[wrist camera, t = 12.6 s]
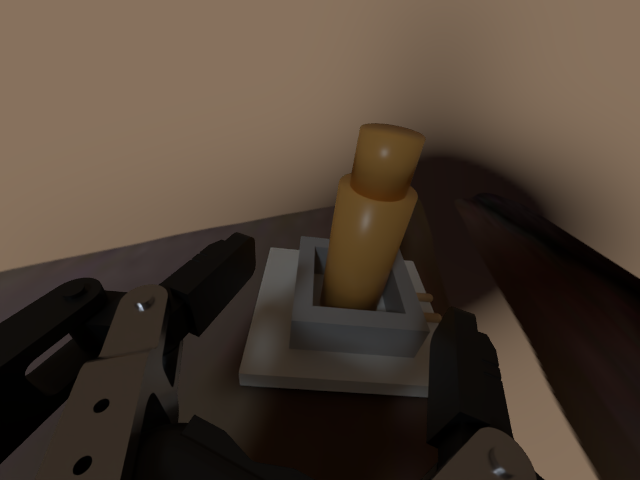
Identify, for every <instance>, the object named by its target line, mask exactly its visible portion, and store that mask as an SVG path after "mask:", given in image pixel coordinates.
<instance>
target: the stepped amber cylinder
mask: <svg viewBox="0 0 640 480" xmlns="http://www.w3.org/2000/svg"><path fill="white" fill-rule="evenodd" d="M424 142H425V137H424V136H423V135H422V134H420V133H418V132H416V131H413V130H411V129H407V128H404V127H399V126H394V125H388V124H377V123H375V124H365V125H362V126H361V127H360V132H359V137H358V142H357V148H356V153H355V158H354V163H353V168H352V173H350V174H347V175H345V176H343V177H342V178H341V179H340V181H339V186H338V192H337V198H336V204H335V210H334V216H333V223H332V229H331V235H330V241H329V247H328V253H327V259H326V266H325V272H324V278H323V284H322V290H321V296H320V306H321V307H332V308H344V309H356V310H368V311H376V310H377V307H378V304H379V301H380V299H381V296H382V293H383V291H384V288H385V285H386V283H387V280H388V277H389V274H390V272H391V269H392V266H393V264H394V261H395V258H396V255H397V253H398V250H399V247H400V245H401V242H402V239H403V236H404V234H405V231H406V228H407V226H408V223H409V220H410V218H411V215H412V212H413V209H414V207H415V204H416V201H417V199H418V195H417V193H416V191H415V190H414V189H413V188H412V187H411V186H410V183H411V180H412V178H413V175H414V171H415V169H416V166H417V163H418V160H419V157H420V154H421V150H422V148H423V145H424Z"/></svg>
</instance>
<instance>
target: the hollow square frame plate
mask: <svg viewBox="0 0 640 480" xmlns="http://www.w3.org/2000/svg"><path fill="white" fill-rule="evenodd" d="M329 241H330V239H324V238H314V237H304V236H301V241H300V250H292V249H282V248H270V252H269V256H268V260H267V264H266V268H265V272H264V276H263V280H262V284H261V287H260V291H259V295H258V299H257V303H256V307H255V311H254V315H253V319H252V322H251V326H250V330H249V334H248V338H247V342H246V346H245V350H244V354H243V358H242V361H241V365H240V369H239V373H238V374H239V381H240V385H243V386H258V387H274V388H289V389H305V390H320V391H336V392H351V393H367V394H382V395H398V396H413V397H428V384H429V355H430V342H431V338H432V335H433V333H434V331H435V329H436V328H437V326H438V325H439V322H440V321H441V320H442V317H441V315H440V314H437V313H434V311H433V309H432V306H431V304H430V302H431V301H432V300H433V296H432V295H431V294H427V293H426V292H425V289H424V287H423V284H422V282H421V280H420V277H419V275H418V272H417V270H416V267H415V265H414V263H413V261H405V260H403V257H402V254H401V251H400V249H399V250H398V253H397V255H396V258H395V261H394V264H393V266H392V269H391V272H390V274H389V277H388V280H387V283H386V285H385V288H384V291H383V293H382V296H381V299H380V301H379V304H378V307H377V310H376V311H368V310H356V309H344V308H332V307H321V306H320V296H321V290H322V284H323V278H324V272H325V266H326V259H327V253H328V247H329Z"/></svg>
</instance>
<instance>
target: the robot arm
mask: <svg viewBox="0 0 640 480" xmlns="http://www.w3.org/2000/svg"><path fill="white" fill-rule="evenodd" d="M255 266H256V260H255V240H254V238H252V237H250V236H247V235H244V234H241V233H238V232H236V233H234V234H233V235H231V236H230V237H229V238H228V239H227V240H225V241H224V240H220V241H217V242H215V243H212V244H210V245H208V246H207V247H206V248H205V249H203V250H202V251H201V252H200V254H197V255H196V256H195V257H193V258H192V260H190V261H188V262H187V263H186V264H185V265H183V266H182V267H181V268H180V269H178V270H177V271H176V272H174V273H173V274H172V275H171V276H169V277H168V278H167V279H166V280H164V281H163V282H162V283H161V284H159V285H153V284H151V285H144V286H140V287H137V288H135V289H133V290H131V291H129V292H117V291H105V290H104V289H103V287H102V285H101V283H100V282H99V281H98V280H96V279H94V278H79V279H75V280H71V281H69V282H66V283H64V284H62V285H60V286H58V287H57V288H55V289H54V290H52V291H50V292H49V293H47V294H46V295H44V296H43V297H41V298H39V299H38V300H36V301H35V302H33V303H31V304H30V305H28V306H27V307H25V308H24V309H22V310H20V311H19V312H17V313H16V314H14V315H12V316H11V317H9V318H8V319H6V320H5V321H3V322H1V323H0V464H1V463H2V462H3V461H4V460H5V459H6V458H7V457H8V456H9V455H10V454H11V453H12V452H13V451H14V450H15V449H16V448H17V447H18V446H20V445H21V444H22V443H23V442H24V441H25V440H26V439H27V438H28V437H29V436H30V435H31V434H32V433H33V432H34V431H35V430H36V429H37V428H38V427H39V426H40V425H41V424H42V423H43V422H44V421H45V420H46V419H47V418H48V417H49V416H50V415H52V414H53V413H54V412H55V411H56V410H57V409H58V408H59V407H60V406H61V405H62V404H63V403H64V402H65V401H66V400H67V399H68V400H67V403H66V405H65V408H64V410H63V413H62V415H61V417H60V420H59V422H58V425H57V427H56V429H55V432H54V434H53V437H52V439H51V442H50V444H49V446H48V449H47V451H46V454H45V456H44V459H43V461H42V463H41V466H40V468H39V471H38V473H37V475H36V478H35V480H315V479H313V478H311V477H309V476H307V475H305V474H303V473H302V472H300V471H298V470H296V469H294V468H288V467H282V466H276V465H270V464H264V463H258V462H254V461H252V460H251V459H250V458H249V457H248V456H247V455H246V454H245V453H244V452H243V451H242V449H241V448H240V447H239V446H238V445H237V444H236V443H235V442H234V441H233V439H232V438H231V437H230V436H229V435H228V434H227V433H226V432H225V431H224V430H222V429H220V428H218V427H216V426H215V425H213V424H211V423H209V422H207V421H205V420H203V419H202V418H200V417H198V416H196V415H194V416H193V417H192V419H191V420H190V422H189V423H178V418H179V404H178V383H179V374H180V366H181V358H182V349H183V338H184V337H185V336H186V335H187V334H188V333H191V334H193V335H196V336H198V337H199V336H200V335H201V334H202V333H203V332H204V331H205V329H206V328H207V327H208V326H209V325H210V324H211V323H212V321H213V320H214V319H215V318H216V317H217V316H218V315H219V313H220V312H221V311H222V310H223V309H224V308H225V307H226V305H227V304H228V303H229V302H230V301H231V300H232V299H233V297H234V296H235V295H236V294H237V293H238V292H239V291H240V289H241V288H242V287H243V286H244V285H245V284H246V283H247V281H248V280H249V279H250V278H251V276H252V275H253V273H254V270H255ZM68 333H69V334H70V335H71V337H72V338H73V339H71V340H70V341H69V342H68V343H66V344H65V345H64V346H63V347H62V348H60V349H59V350H58V351H57V352H55V353H54V354H53V355H52V356H50V357H49V358H48V359H47V360H45V361H44V362H43V363H42V364H41V365H39V366H38V367H37V368H36V369H34V370H33V371H32V372H31V373H29V374H28V375H26V376H25V371H26V369H27V367H28V366H29V365H30V364H31V363H32V362H33V361H34V360H35V359H36V358H37V357H39V356H40V355H41V354H43V353H44V352H45V351H46V350H48V349H49V348H50V347H51V346H53V345H54V344H55V343H57V342H58V341H59V340H60V339H62V338H63V337H64V336H66V335H67V334H68ZM498 366H499V363H498V358H497V353H496V349H495V348H494V346H493V344H492V343H491V341H490V339H489V337H488V336H487V335H486V334H484V333H481V332H478V330H477V322H476V317H475V315H474V314H472V313H469V312H466V311H463V310H460V309H457V308H455V307H450V308H449V309H448V310H447V312H446V313H445V315H444V317H443V318H442V320H441V321H440V323H439V325H438V326H437V328H436V329H435V331H434V333H433V335H432V338H431V342H430V355H429V384H428V413H427V441H426V443H427V444H429V445H431V446H433V447H436V448H438V462H437V463H436V464H435V465H434V466H433V467H432V468H431V469H430V470H429V471H428V472H427V473H426V474H425V475H424V476H423V477H422V478H421V479H420V480H544V479H543V478H542V477H540V476H539V475H538V474H537V473H536V472H535V471H534V468H533V466H532V464H531V461H530V460H529V458H528V456H527V455H526V453H525V452H524V451H523V449H522V448H521V447H520V446H519V444H518V443H517V442H516V441H515V440H514V438H513V434H512V430H511V425H510V419H509V415H508V409H507V404H506V399H505V394H504V389H503V383H502V381H501V373H500V369H499V368H498Z"/></svg>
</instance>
